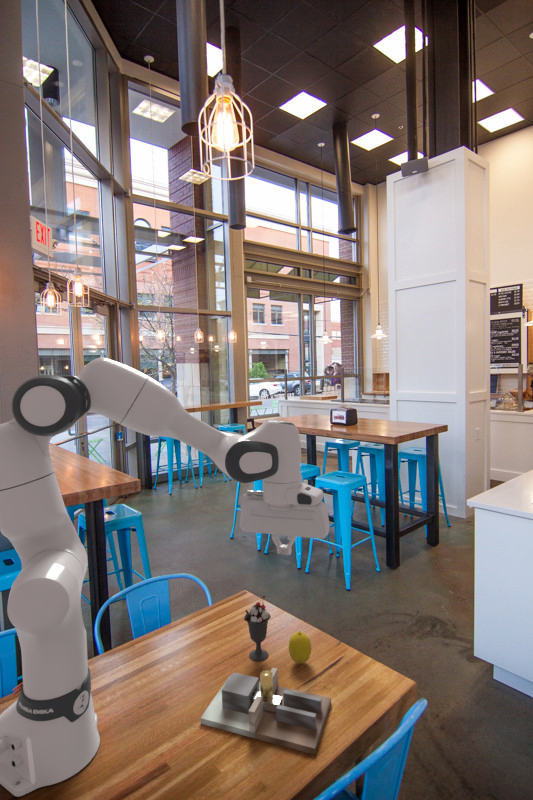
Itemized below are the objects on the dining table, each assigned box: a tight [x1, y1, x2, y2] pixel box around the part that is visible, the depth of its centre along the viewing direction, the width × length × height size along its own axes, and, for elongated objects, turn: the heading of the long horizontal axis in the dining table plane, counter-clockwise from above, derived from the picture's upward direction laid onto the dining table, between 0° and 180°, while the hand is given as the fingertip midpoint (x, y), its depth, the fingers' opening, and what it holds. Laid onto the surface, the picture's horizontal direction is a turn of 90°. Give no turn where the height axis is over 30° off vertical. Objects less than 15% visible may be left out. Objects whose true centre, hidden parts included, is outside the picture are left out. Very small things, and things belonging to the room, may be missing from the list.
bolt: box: [250, 669, 283, 713], centre depth 93 cm, size 12×3×7 cm, turn 70°
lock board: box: [199, 667, 332, 756], centre depth 92 cm, size 24×14×5 cm, turn 70°
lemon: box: [288, 631, 312, 665], centre depth 108 cm, size 6×6×8 cm
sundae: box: [243, 595, 272, 662], centre depth 112 cm, size 7×7×15 cm
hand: (284, 553), depth 98 cm, fingers closed
